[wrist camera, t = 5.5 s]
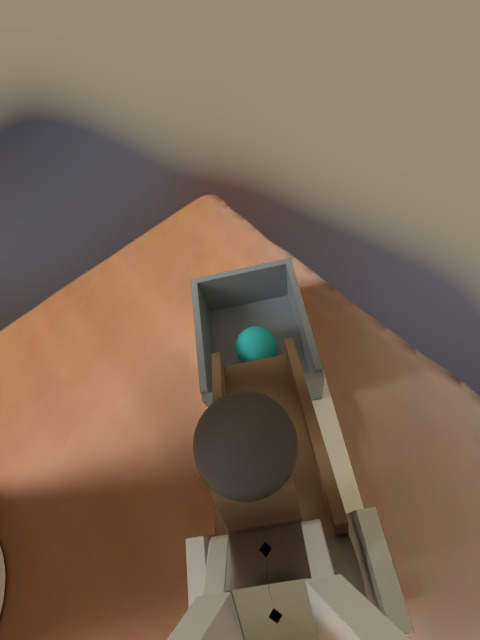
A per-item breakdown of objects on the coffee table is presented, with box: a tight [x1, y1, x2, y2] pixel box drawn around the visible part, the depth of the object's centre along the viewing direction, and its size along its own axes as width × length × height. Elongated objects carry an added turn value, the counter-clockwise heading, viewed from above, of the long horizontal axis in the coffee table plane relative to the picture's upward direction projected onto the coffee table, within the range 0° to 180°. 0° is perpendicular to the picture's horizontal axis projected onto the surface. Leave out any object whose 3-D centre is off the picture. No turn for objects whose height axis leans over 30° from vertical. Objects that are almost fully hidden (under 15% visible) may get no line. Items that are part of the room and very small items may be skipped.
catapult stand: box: [185, 371, 415, 634], centre depth 27 cm, size 30×12×17 cm, turn 9°
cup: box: [191, 258, 325, 407], centre depth 34 cm, size 13×10×6 cm
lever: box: [193, 337, 367, 598], centre depth 16 cm, size 20×6×19 cm, turn 10°
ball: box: [235, 326, 277, 363], centre depth 34 cm, size 4×4×4 cm
